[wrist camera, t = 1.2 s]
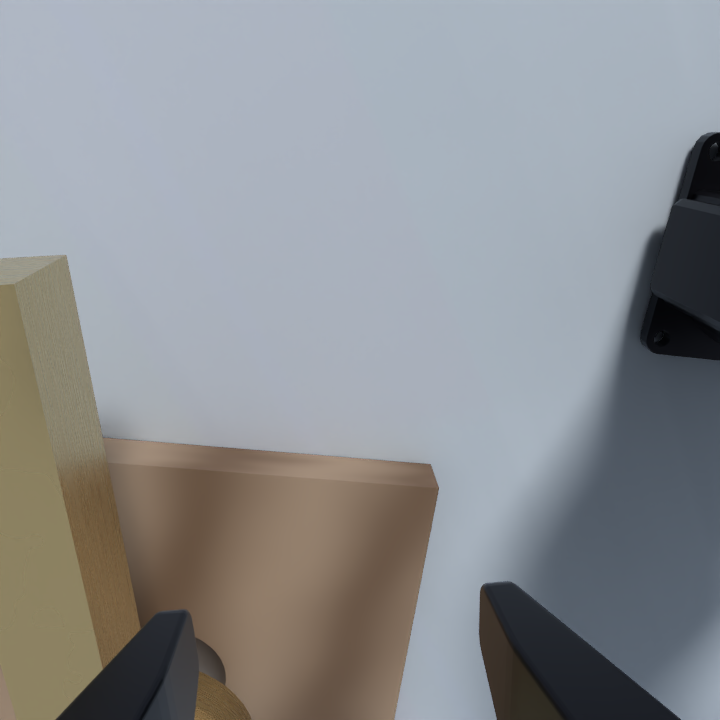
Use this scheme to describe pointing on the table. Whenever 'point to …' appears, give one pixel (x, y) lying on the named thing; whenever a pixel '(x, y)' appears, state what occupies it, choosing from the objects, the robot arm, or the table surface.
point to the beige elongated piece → (60, 508)
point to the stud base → (278, 569)
